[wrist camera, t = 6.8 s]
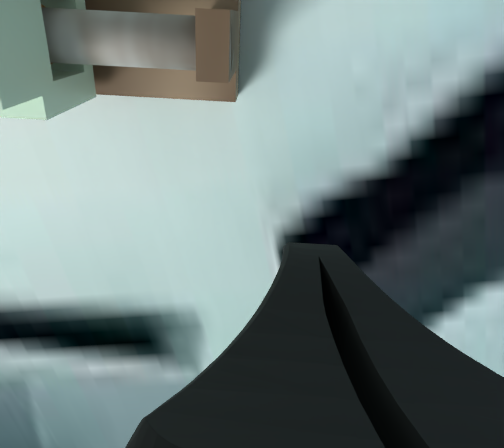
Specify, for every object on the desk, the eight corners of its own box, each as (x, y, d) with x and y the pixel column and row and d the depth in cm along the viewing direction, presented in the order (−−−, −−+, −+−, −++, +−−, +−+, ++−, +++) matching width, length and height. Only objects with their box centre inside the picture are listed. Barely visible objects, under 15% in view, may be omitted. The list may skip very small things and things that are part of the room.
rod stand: (241, -24, 16) (231, -40, 11) (237, 95, 18) (227, 122, 13) (6, -37, 16) (-98, -58, 11) (29, 83, 18) (-52, 106, 13)
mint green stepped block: (80, -38, 14) (-38, -72, 9) (96, 96, 16) (9, 137, 11) (9, -42, 14) (-152, -77, 9) (34, 93, 16) (-84, 132, 11)
